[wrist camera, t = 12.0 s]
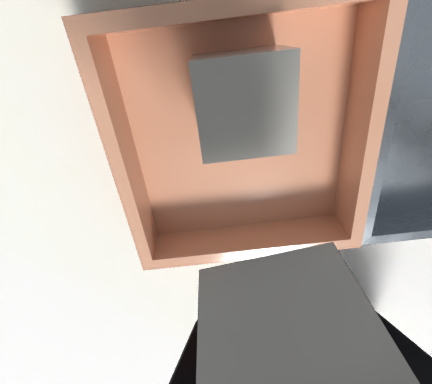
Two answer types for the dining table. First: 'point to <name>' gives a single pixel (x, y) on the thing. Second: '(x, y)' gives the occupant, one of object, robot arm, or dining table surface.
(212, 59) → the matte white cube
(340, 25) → the dish
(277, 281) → the grey cube
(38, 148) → the dining table surface
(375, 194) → the bin
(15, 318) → the dining table surface
